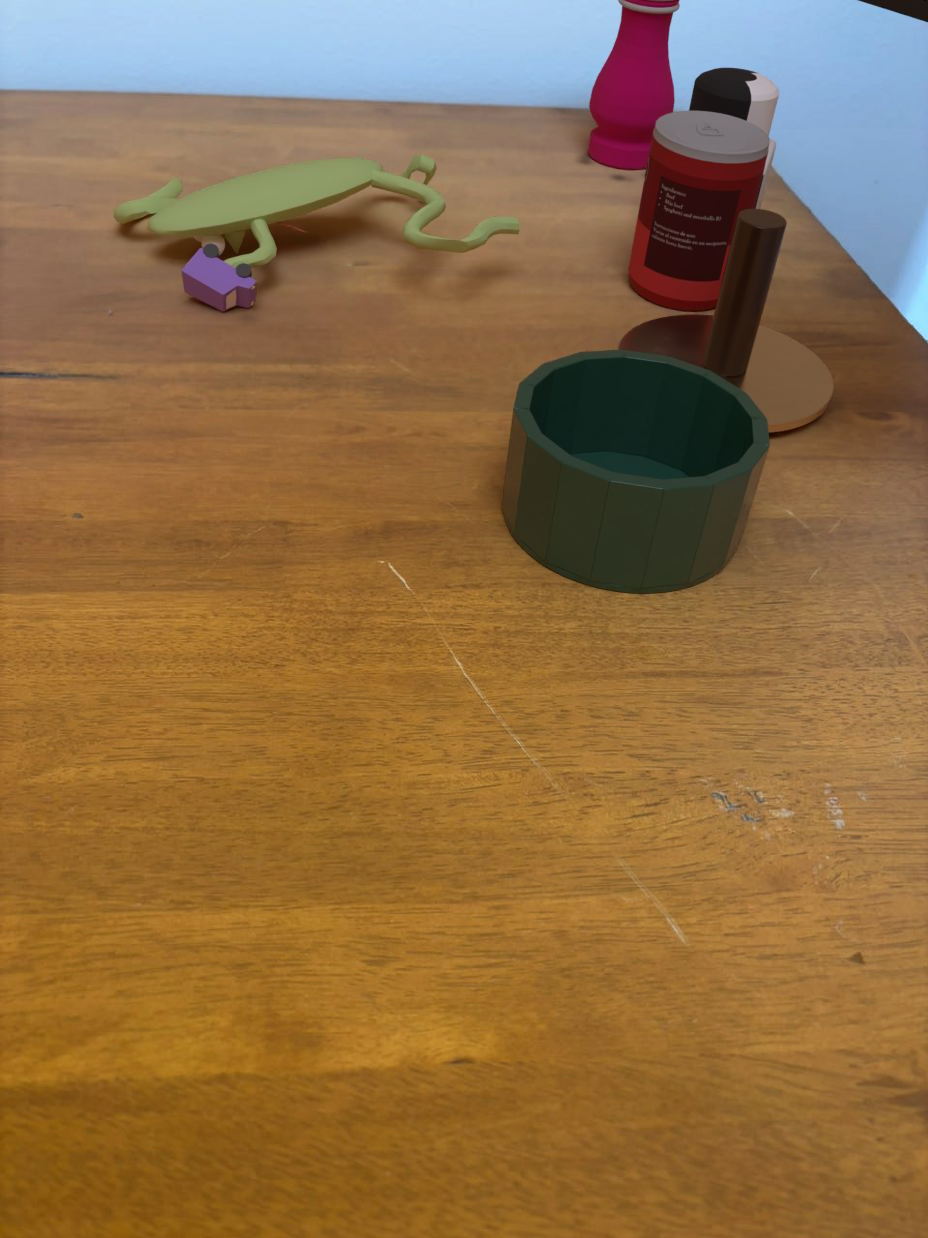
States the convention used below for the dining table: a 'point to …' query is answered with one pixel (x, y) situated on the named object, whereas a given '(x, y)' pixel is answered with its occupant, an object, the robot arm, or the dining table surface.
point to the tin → (632, 469)
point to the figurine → (283, 217)
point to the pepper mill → (633, 85)
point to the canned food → (693, 205)
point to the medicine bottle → (739, 103)
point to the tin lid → (746, 333)
